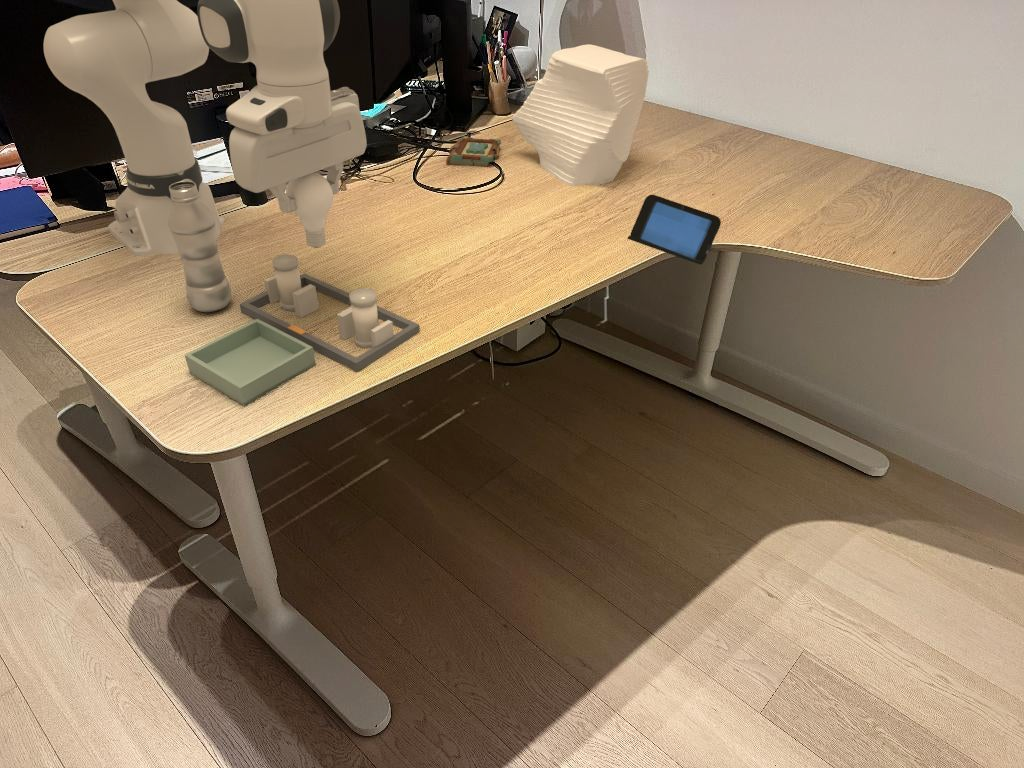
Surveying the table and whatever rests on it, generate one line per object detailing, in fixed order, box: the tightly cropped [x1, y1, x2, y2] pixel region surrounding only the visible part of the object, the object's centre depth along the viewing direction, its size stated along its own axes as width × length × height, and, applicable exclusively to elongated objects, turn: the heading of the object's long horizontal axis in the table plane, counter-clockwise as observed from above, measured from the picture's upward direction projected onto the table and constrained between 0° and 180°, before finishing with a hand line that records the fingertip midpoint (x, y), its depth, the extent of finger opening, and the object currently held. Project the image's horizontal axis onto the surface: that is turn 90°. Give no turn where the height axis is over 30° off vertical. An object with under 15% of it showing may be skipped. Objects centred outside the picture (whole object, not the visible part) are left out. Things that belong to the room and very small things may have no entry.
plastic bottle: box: [168, 181, 232, 313], centre depth 113 cm, size 6×7×20 cm
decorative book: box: [445, 136, 502, 167], centre depth 169 cm, size 13×18×5 cm
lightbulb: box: [285, 172, 334, 249], centre depth 105 cm, size 6×6×11 cm
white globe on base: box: [271, 253, 303, 312], centre depth 117 cm, size 4×4×8 cm
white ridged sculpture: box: [511, 43, 649, 187], centre depth 161 cm, size 21×27×26 cm
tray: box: [184, 319, 317, 407], centre depth 105 cm, size 12×12×3 cm
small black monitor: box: [627, 194, 722, 265], centre depth 132 cm, size 16×13×9 cm
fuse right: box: [349, 287, 380, 349], centre depth 109 cm, size 4×4×8 cm
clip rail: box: [239, 272, 421, 373], centre depth 115 cm, size 26×13×4 cm, turn 53°
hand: (310, 202), depth 104 cm, fingers closed on lightbulb, 6 cm apart
